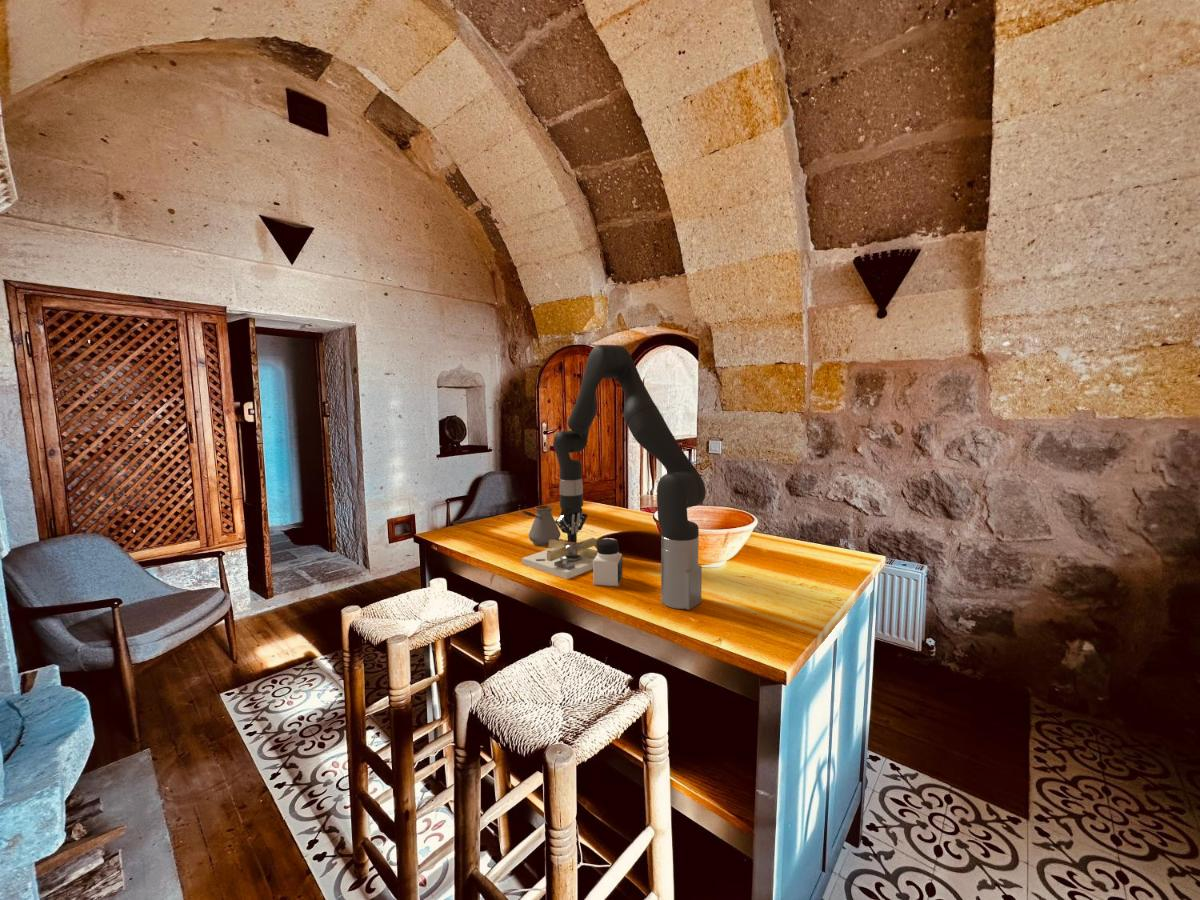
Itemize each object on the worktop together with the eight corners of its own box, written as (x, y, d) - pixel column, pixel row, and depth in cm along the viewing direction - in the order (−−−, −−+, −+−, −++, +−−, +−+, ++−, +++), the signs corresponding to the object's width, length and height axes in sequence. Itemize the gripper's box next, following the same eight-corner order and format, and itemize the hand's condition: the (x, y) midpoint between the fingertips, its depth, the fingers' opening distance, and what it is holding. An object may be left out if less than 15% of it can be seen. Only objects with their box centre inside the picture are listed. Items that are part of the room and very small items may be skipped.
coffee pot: (538, 536, 185) (536, 497, 183) (566, 539, 181) (565, 499, 179) (507, 554, 165) (506, 510, 163) (538, 557, 161) (537, 512, 159)
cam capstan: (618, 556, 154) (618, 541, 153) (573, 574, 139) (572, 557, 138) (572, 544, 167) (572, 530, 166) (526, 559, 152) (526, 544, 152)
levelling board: (609, 562, 156) (609, 550, 155) (566, 579, 142) (566, 566, 141) (565, 549, 169) (565, 539, 168) (522, 564, 155) (521, 552, 154)
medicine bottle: (618, 586, 136) (618, 544, 134) (593, 585, 137) (592, 543, 136) (622, 577, 142) (622, 536, 141) (598, 575, 144) (597, 535, 143)
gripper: (564, 497, 152) (565, 552, 154) (593, 490, 161) (594, 542, 163) (548, 494, 157) (549, 547, 159) (577, 488, 166) (578, 538, 168)
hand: (572, 544), depth 161 cm, fingers closed
